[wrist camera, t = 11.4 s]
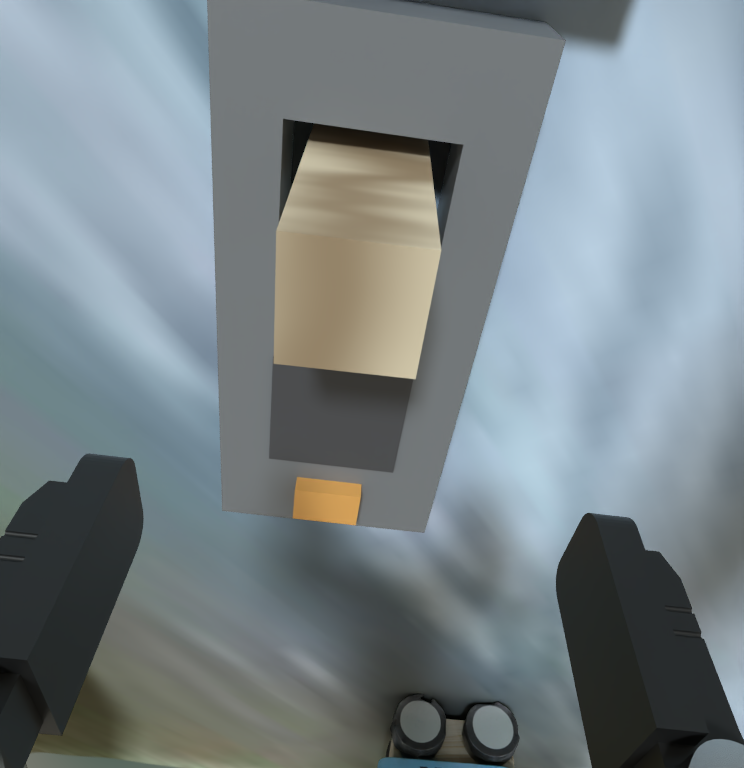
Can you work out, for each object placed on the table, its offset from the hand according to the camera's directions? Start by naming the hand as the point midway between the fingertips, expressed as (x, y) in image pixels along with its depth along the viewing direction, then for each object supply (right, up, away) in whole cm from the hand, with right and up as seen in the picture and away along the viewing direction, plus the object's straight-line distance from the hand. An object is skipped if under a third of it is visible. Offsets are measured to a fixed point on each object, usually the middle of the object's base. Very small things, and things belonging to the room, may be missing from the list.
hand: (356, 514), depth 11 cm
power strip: (-1, +6, +15) cm, 16 cm away
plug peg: (0, +10, +12) cm, 16 cm away
